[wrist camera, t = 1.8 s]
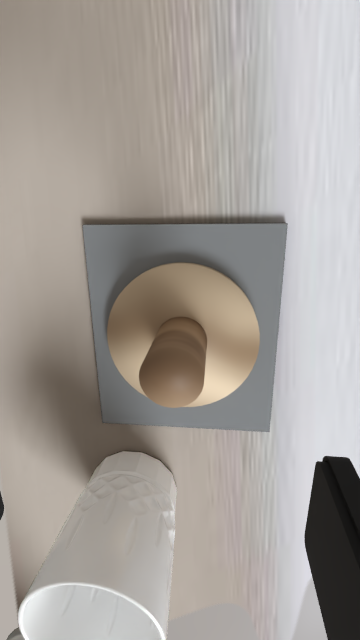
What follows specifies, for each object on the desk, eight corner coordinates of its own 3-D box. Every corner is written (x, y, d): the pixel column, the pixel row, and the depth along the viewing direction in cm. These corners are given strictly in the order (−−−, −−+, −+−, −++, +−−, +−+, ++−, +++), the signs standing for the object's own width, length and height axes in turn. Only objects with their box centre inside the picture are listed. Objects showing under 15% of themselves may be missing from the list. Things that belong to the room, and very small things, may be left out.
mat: (268, 428, 24) (269, 431, 23) (104, 419, 25) (102, 422, 24) (286, 223, 19) (287, 223, 19) (85, 224, 20) (82, 224, 20)
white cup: (201, 470, 25) (191, 624, 16) (160, 535, 28) (131, 700, 19) (106, 427, 25) (41, 559, 16) (74, 497, 28) (1, 647, 18)
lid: (253, 403, 23) (265, 465, 17) (116, 397, 24) (86, 454, 18) (263, 262, 20) (280, 282, 14) (104, 262, 21) (64, 280, 15)
